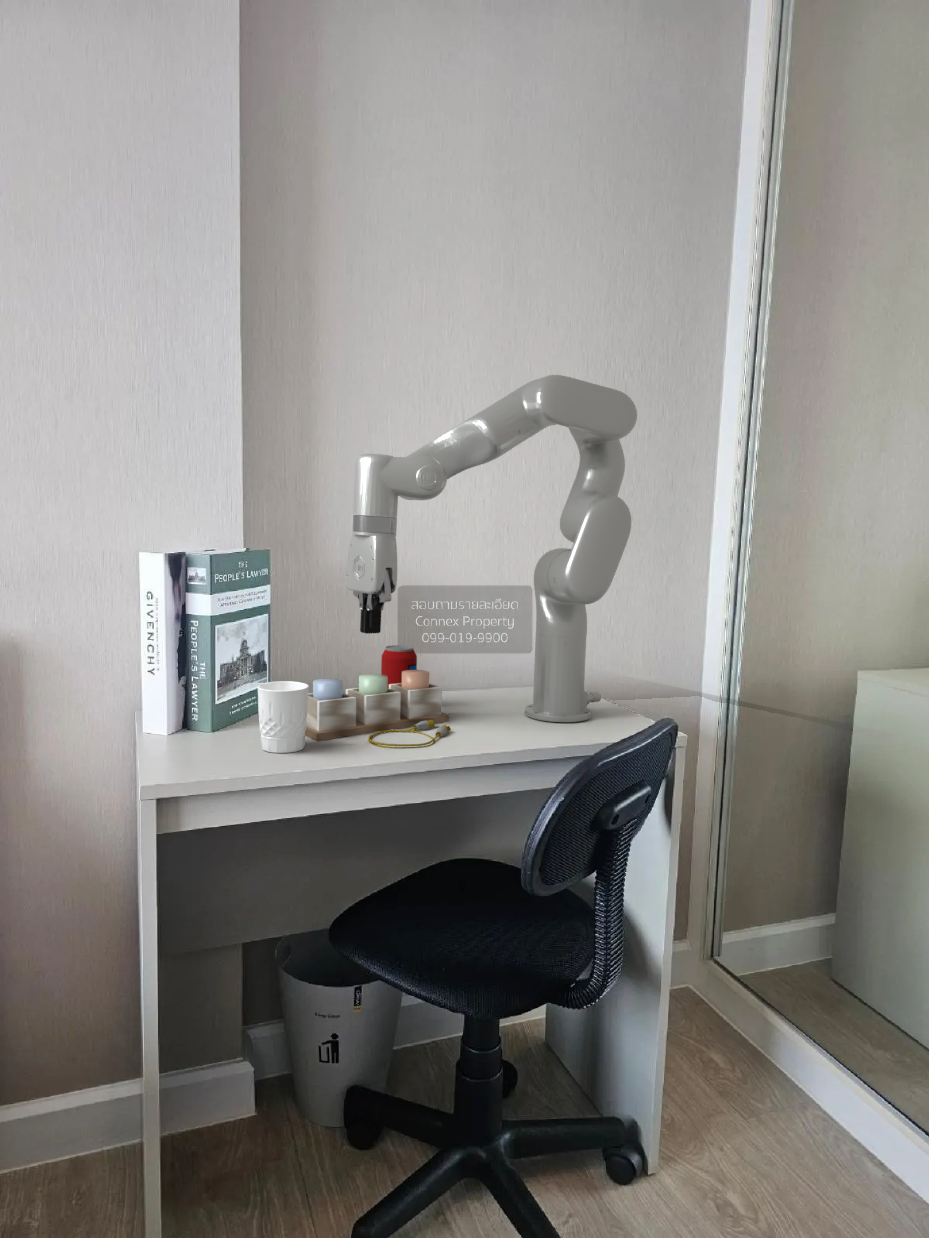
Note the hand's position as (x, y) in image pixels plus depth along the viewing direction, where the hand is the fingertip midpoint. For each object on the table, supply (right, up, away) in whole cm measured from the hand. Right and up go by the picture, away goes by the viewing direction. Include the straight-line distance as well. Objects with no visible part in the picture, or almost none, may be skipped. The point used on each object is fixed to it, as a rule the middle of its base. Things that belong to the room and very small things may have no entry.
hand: (370, 632), depth 157 cm
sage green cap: (0, -13, +2) cm, 13 cm away
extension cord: (+8, -18, -6) cm, 21 cm away
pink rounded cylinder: (+7, -12, +7) cm, 16 cm away
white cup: (-12, -18, -14) cm, 26 cm away
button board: (0, -16, +2) cm, 17 cm away
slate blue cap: (-7, -13, -4) cm, 15 cm away
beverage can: (+4, -15, +16) cm, 22 cm away
